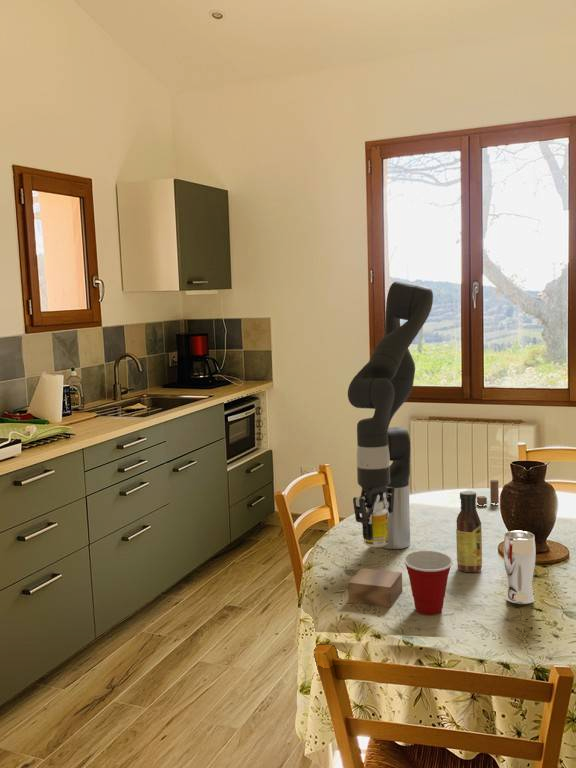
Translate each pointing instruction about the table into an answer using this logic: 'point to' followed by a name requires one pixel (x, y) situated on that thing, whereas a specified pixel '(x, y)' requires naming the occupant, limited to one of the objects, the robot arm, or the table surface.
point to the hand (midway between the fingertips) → (375, 535)
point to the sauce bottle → (469, 534)
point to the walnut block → (375, 587)
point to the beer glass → (519, 565)
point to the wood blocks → (494, 494)
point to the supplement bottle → (378, 527)
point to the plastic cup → (428, 579)
